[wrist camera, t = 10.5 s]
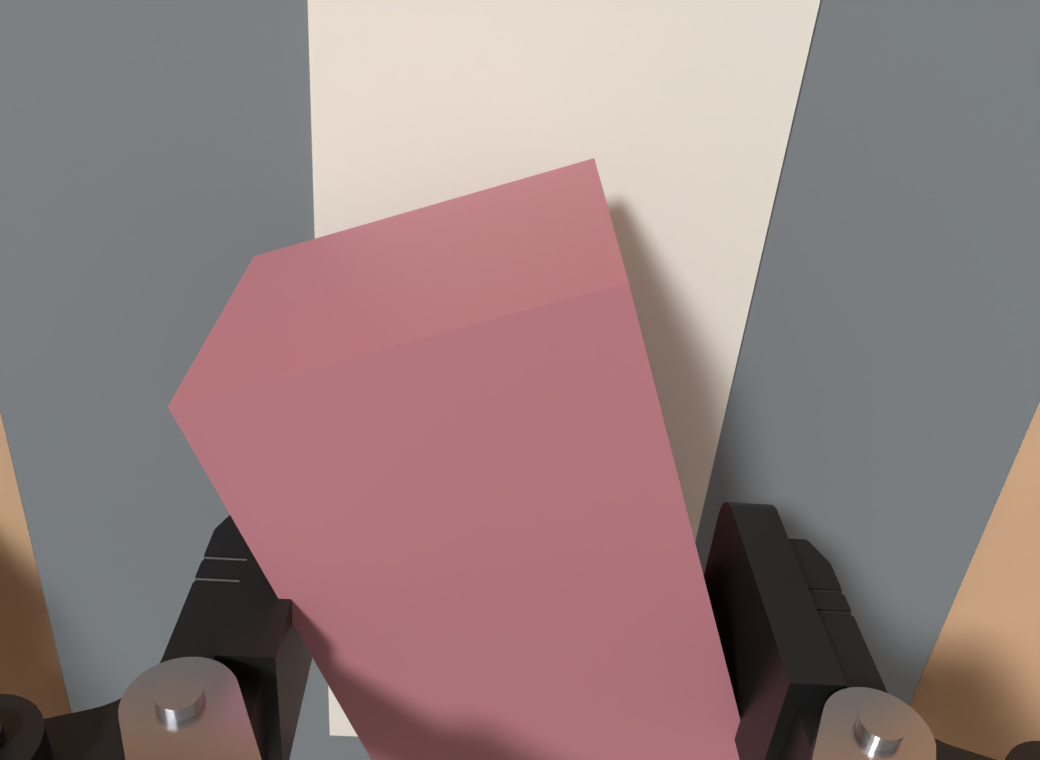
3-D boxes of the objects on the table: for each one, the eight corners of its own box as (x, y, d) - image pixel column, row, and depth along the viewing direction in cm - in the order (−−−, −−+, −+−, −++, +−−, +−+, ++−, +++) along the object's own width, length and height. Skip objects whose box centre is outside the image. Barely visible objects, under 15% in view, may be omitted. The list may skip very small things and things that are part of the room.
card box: (254, 256, 13) (168, 406, 10) (594, 157, 13) (628, 281, 9) (469, 711, 18) (461, 916, 15) (722, 657, 18) (776, 859, 14)
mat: (93, 764, 22) (85, 783, 21) (-150, -303, 11) (-176, -307, 11) (858, 795, 23) (865, 814, 22) (1259, -160, 12) (1287, -161, 12)
